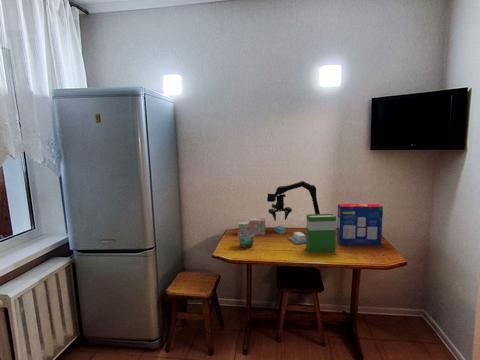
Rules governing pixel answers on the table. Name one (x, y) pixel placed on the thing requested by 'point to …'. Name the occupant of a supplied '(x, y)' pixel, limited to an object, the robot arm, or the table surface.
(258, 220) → the stack of blocks
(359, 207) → the blue product box
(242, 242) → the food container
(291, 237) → the baseplate
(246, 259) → the table surface
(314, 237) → the green cereal box
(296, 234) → the cream brick
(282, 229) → the teal brick
